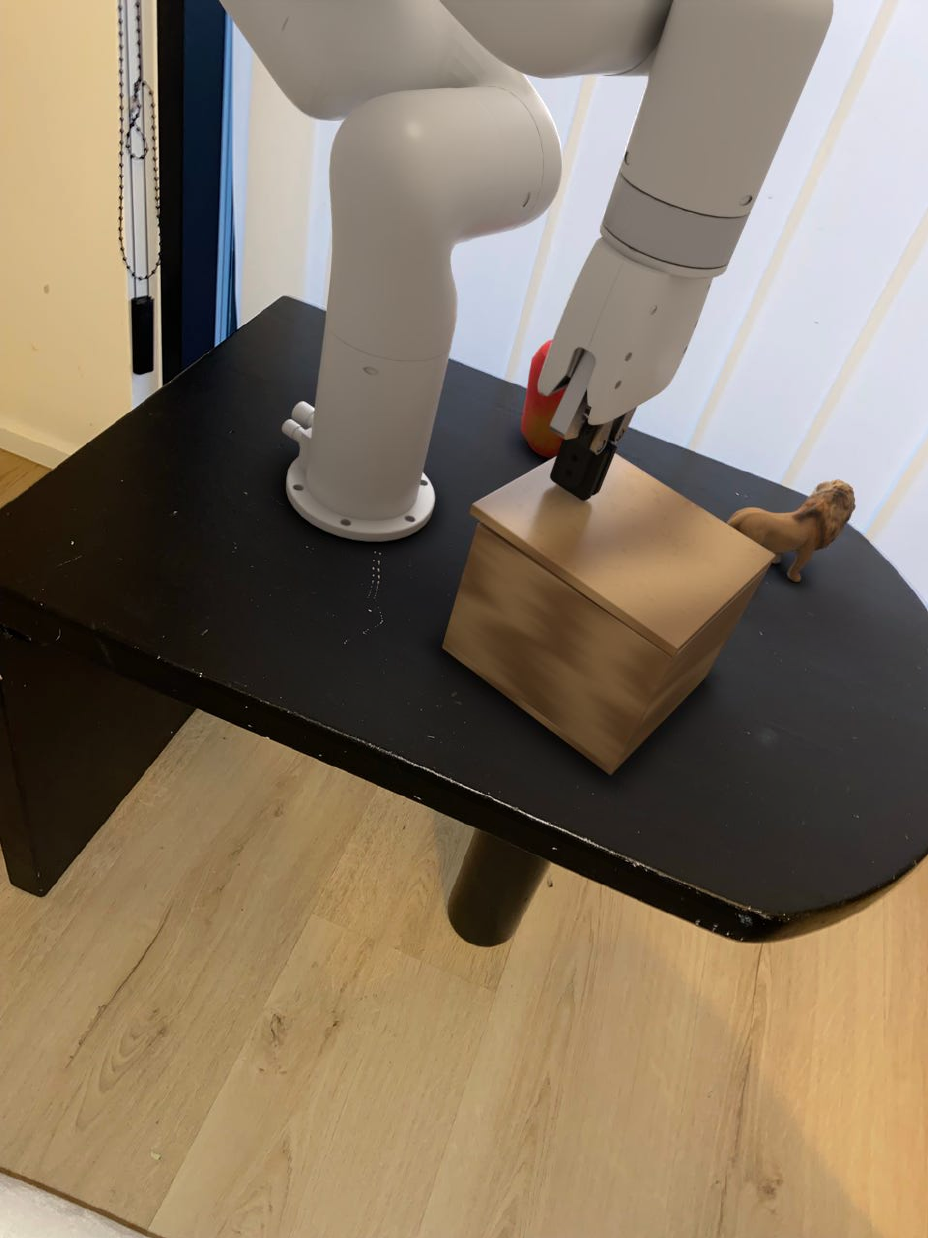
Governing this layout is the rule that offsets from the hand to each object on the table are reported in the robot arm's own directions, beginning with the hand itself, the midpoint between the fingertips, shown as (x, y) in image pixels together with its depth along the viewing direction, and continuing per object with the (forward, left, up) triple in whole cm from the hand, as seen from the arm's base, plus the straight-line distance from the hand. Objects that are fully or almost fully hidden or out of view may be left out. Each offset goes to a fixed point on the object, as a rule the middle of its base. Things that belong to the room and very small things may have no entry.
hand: (573, 486), depth 65 cm
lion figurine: (+9, +24, -14) cm, 29 cm away
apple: (-14, +23, -14) cm, 30 cm away
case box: (+5, 0, -13) cm, 14 cm away
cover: (+5, 0, -1) cm, 5 cm away
